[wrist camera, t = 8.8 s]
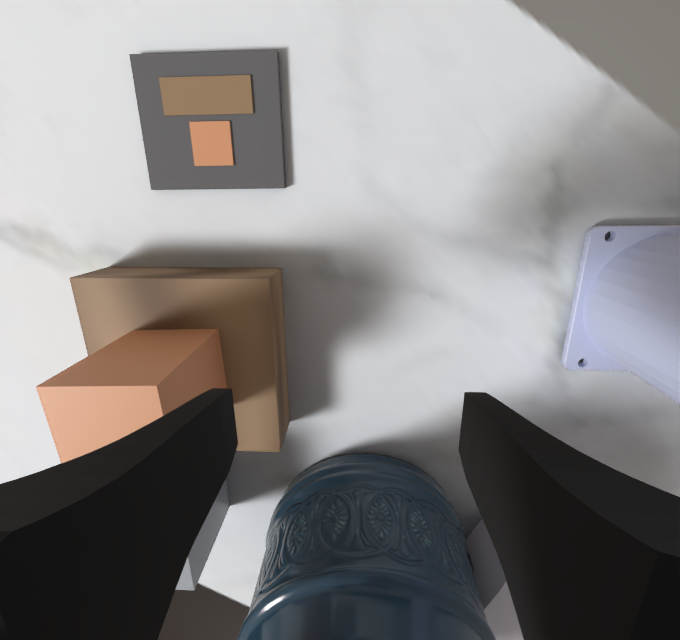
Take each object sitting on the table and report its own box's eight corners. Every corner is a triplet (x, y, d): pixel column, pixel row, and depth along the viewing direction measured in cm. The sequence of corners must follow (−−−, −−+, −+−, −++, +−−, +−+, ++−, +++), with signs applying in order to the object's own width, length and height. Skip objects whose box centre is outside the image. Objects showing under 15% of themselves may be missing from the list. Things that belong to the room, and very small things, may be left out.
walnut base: (283, 266, 21) (268, 279, 18) (291, 417, 24) (280, 452, 21) (114, 265, 22) (69, 277, 18) (143, 413, 25) (110, 447, 21)
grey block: (223, 452, 25) (182, 528, 19) (229, 505, 26) (194, 590, 21) (158, 450, 25) (99, 525, 19) (168, 503, 26) (116, 586, 21)
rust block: (218, 328, 19) (156, 385, 13) (229, 406, 20) (178, 488, 14) (132, 330, 19) (35, 386, 13) (150, 406, 20) (69, 487, 15)
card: (278, 52, 17) (276, 48, 17) (285, 188, 19) (284, 187, 19) (134, 57, 18) (128, 53, 17) (155, 189, 20) (150, 189, 19)
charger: (591, 654, 29) (423, 591, 28) (669, 580, 27) (486, 506, 25) (633, 736, 25) (435, 665, 24) (732, 657, 22) (514, 572, 21)
